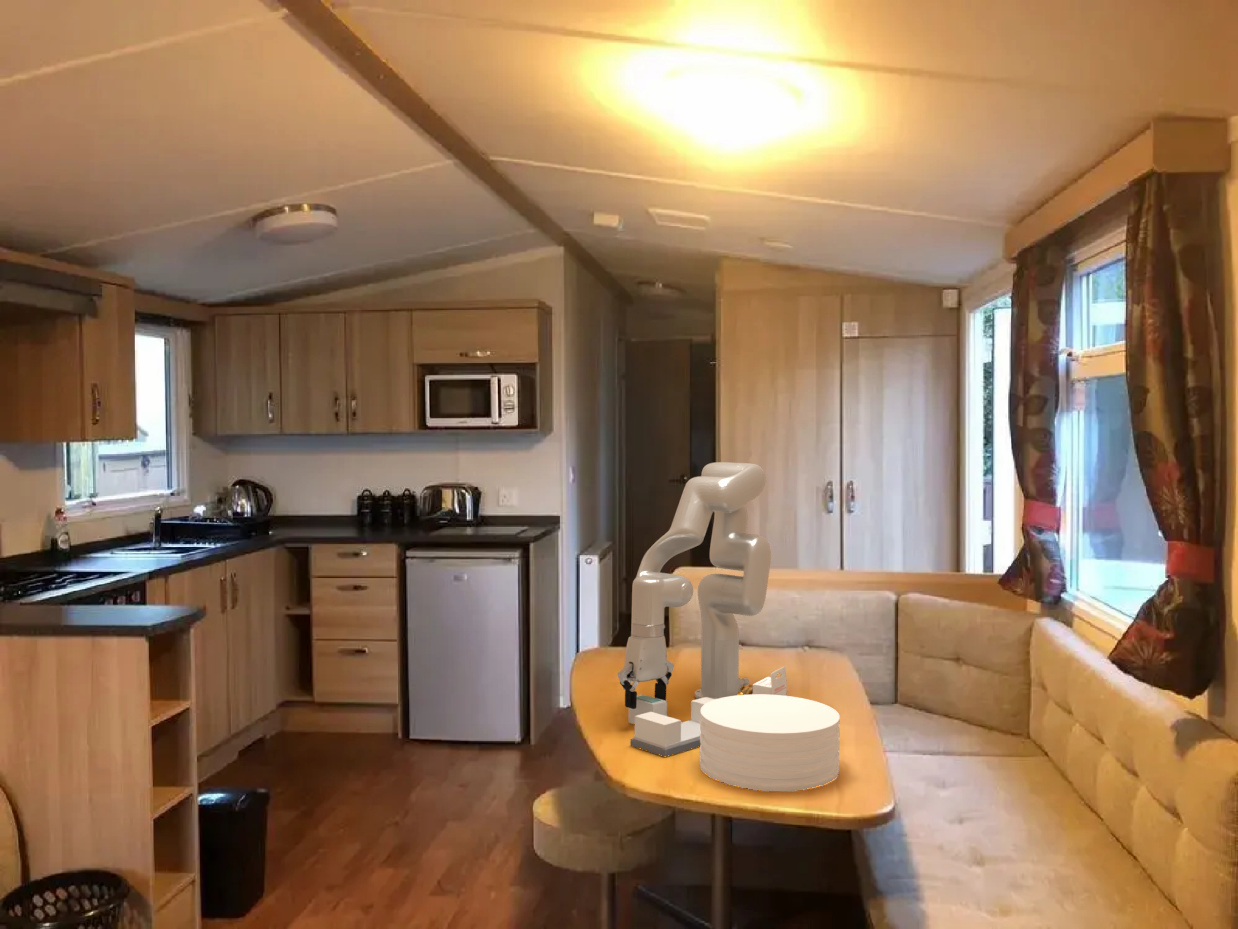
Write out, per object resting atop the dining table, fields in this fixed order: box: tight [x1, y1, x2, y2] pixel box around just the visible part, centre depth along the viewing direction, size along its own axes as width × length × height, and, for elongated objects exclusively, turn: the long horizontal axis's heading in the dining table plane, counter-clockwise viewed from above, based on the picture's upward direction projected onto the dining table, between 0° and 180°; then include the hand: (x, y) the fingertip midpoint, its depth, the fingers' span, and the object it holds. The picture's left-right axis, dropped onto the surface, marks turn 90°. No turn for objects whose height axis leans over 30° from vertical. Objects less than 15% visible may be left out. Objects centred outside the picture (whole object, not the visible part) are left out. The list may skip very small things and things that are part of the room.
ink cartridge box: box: [752, 665, 788, 696], centre depth 231 cm, size 9×5×15 cm, turn 148°
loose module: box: [628, 694, 668, 725], centre depth 237 cm, size 4×8×6 cm, turn 44°
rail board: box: [629, 697, 715, 757], centre depth 225 cm, size 24×10×7 cm, turn 133°
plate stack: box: [699, 693, 841, 792], centre depth 208 cm, size 28×28×12 cm
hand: (645, 704), depth 236 cm, fingers open, 9 cm apart
